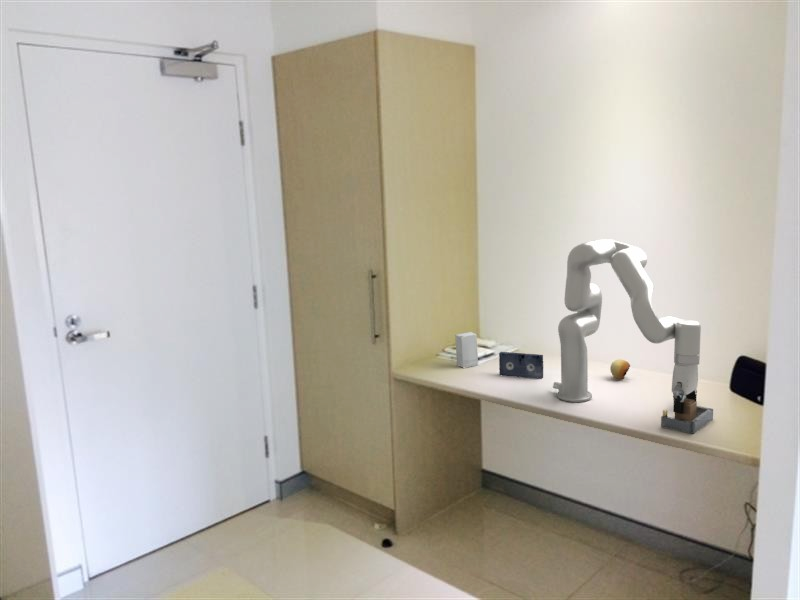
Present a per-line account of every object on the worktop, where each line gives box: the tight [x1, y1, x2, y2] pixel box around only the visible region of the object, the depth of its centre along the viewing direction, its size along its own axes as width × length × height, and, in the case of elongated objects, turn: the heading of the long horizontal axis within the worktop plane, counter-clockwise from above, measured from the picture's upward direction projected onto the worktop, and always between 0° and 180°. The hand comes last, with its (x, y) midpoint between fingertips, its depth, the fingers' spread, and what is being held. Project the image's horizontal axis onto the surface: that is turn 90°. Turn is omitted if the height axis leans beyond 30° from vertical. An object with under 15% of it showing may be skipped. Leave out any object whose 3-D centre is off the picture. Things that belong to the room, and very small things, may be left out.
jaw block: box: [674, 398, 698, 421], centre depth 211 cm, size 5×5×8 cm
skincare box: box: [455, 331, 479, 368], centre depth 289 cm, size 8×6×15 cm
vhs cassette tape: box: [498, 351, 544, 380], centre depth 269 cm, size 18×3×10 cm, turn 63°
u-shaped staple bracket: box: [660, 405, 714, 435], centre depth 210 cm, size 10×17×6 cm, turn 134°
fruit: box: [609, 359, 631, 380], centre depth 259 cm, size 8×8×8 cm
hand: (684, 408), depth 211 cm, fingers open, 9 cm apart
